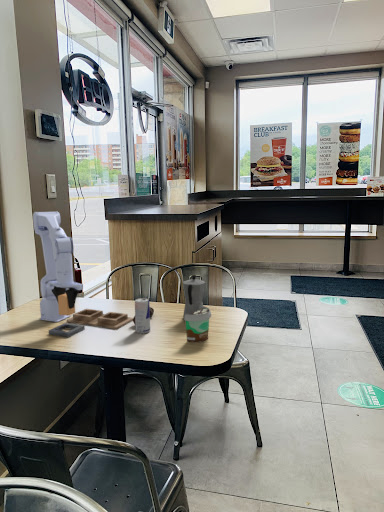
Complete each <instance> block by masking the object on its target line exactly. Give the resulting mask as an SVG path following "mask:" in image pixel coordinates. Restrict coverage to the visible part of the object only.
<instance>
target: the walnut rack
mask: <svg viewBox="0 0 384 512" xmlns="http://www.w3.org/2000/svg"><path fill="white" fill-rule="evenodd" d="M133 318H134V317H128V313H123V312H116V311H108V312H106V313H104V310H100V309H92V308H91V309H90V308H84V309H83V310H79V311H78V312H75V313H73V314H72V317H69V318H68V319H66V323H70V324H77V325H83V326H85V325H86V326H91V327H98V328H104V329H112V330H119V329H121V328H122V327H124V326H126V325H128V324H129V323H131V322H133Z"/></svg>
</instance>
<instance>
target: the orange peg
mask: <svg viewBox="0 0 384 512" xmlns="http://www.w3.org/2000/svg"><path fill="white" fill-rule="evenodd" d="M58 306H59V315H66V316H68V315H70V316H71V315H73V314H75V313H76V305H75V306H74V308H71V309H69V306H68V298H67V295H66V293H65V294H62V295H59V296H58Z"/></svg>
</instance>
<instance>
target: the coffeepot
mask: <svg viewBox="0 0 384 512" xmlns="http://www.w3.org/2000/svg"><path fill="white" fill-rule="evenodd" d="M196 277H197V275H195V274H192V275H191V279H188V280H185V281H182V286H183V287H182V289H183V294H184V298H185V303H184V309H183V315H182V316H183V320H184V319H185V314H188V315H190V314H191V313H193V312H194V311H198V310H200V309H202V306H204V304H203V299H204V295H205V288H206V281H204V280H202V279H197V278H196Z"/></svg>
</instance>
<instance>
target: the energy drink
mask: <svg viewBox="0 0 384 512" xmlns="http://www.w3.org/2000/svg"><path fill="white" fill-rule="evenodd" d="M134 316H135V324H136V325H135V324H134V325H135V332H136V333H137V334H148V333H149V332H151V318H150V300H149V298H146V297H139V298H136V299H135V300H134Z"/></svg>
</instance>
